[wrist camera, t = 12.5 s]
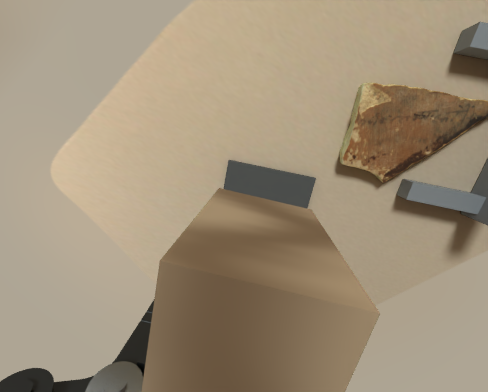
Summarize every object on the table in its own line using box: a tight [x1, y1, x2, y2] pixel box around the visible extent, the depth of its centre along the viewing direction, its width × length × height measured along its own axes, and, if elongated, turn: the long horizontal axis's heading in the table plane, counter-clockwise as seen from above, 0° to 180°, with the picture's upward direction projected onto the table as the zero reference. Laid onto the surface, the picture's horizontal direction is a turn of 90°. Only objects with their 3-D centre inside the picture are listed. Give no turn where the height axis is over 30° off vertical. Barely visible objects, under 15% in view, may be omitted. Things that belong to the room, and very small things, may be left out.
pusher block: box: [141, 188, 380, 392], centre depth 8 cm, size 4×10×6 cm, turn 168°
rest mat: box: [224, 160, 316, 209], centre depth 23 cm, size 8×13×1 cm, turn 169°
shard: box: [339, 83, 488, 183], centre depth 20 cm, size 11×8×2 cm
